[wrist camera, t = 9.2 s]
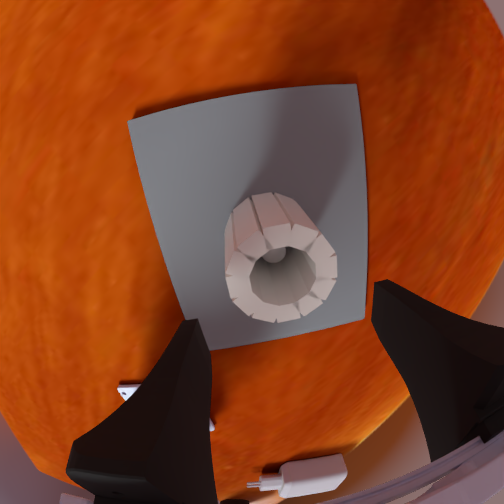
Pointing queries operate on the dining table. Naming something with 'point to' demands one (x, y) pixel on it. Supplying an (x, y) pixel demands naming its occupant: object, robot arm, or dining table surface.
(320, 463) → the charger
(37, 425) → the dining table surface
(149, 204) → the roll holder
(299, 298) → the paper roll
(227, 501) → the coffee mug
